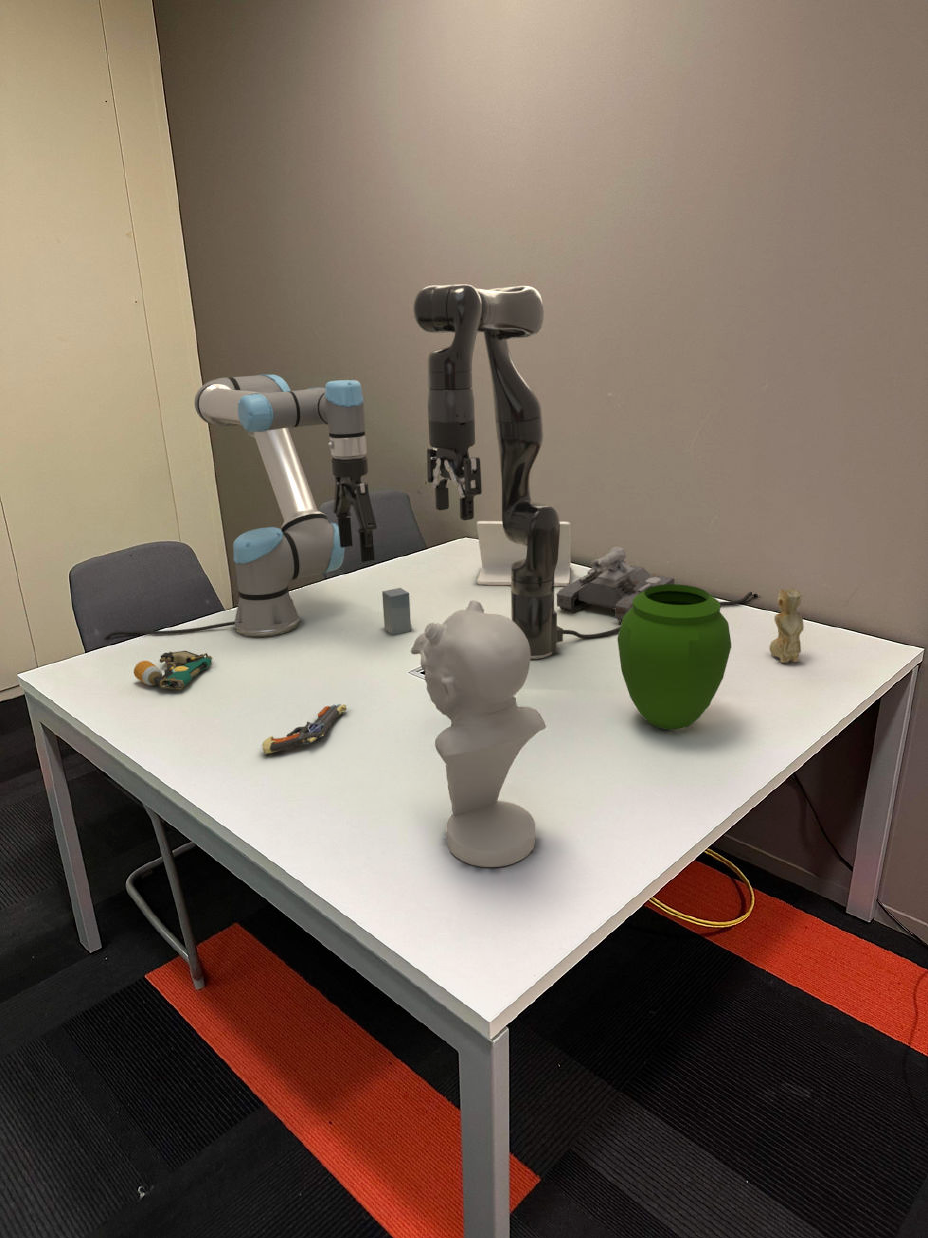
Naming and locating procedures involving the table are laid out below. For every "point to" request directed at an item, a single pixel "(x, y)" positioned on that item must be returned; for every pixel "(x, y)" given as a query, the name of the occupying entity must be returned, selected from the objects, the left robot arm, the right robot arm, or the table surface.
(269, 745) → the toy gun
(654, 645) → the vase
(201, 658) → the spray gun
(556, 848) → the table surface
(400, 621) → the block
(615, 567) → the toy
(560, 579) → the tablet stand
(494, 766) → the bust sculpture
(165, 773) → the table surface
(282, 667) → the table surface
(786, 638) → the sculpture
